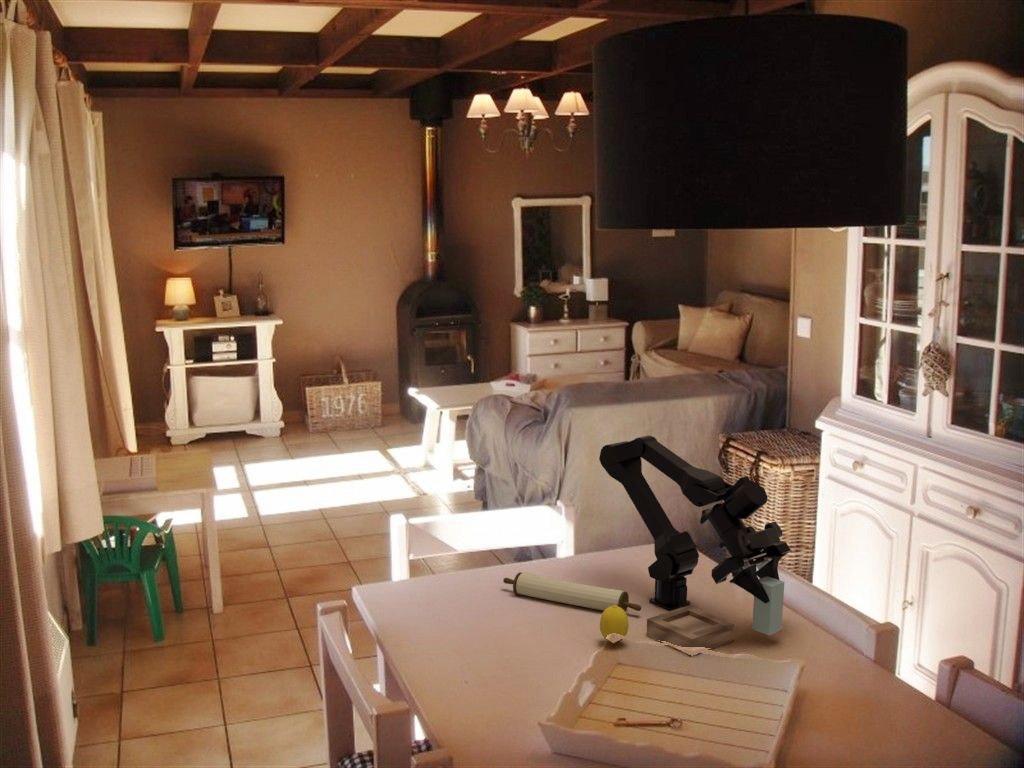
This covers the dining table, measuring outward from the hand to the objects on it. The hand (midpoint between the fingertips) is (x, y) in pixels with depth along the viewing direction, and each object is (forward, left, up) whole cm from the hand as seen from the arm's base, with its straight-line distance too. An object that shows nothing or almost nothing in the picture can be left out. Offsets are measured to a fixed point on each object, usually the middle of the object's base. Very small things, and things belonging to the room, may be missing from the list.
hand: (774, 599), depth 201 cm
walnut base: (-11, -11, -9) cm, 18 cm away
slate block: (-1, 0, -7) cm, 7 cm away
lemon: (-18, -25, -9) cm, 33 cm away
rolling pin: (-39, -18, -10) cm, 44 cm away
